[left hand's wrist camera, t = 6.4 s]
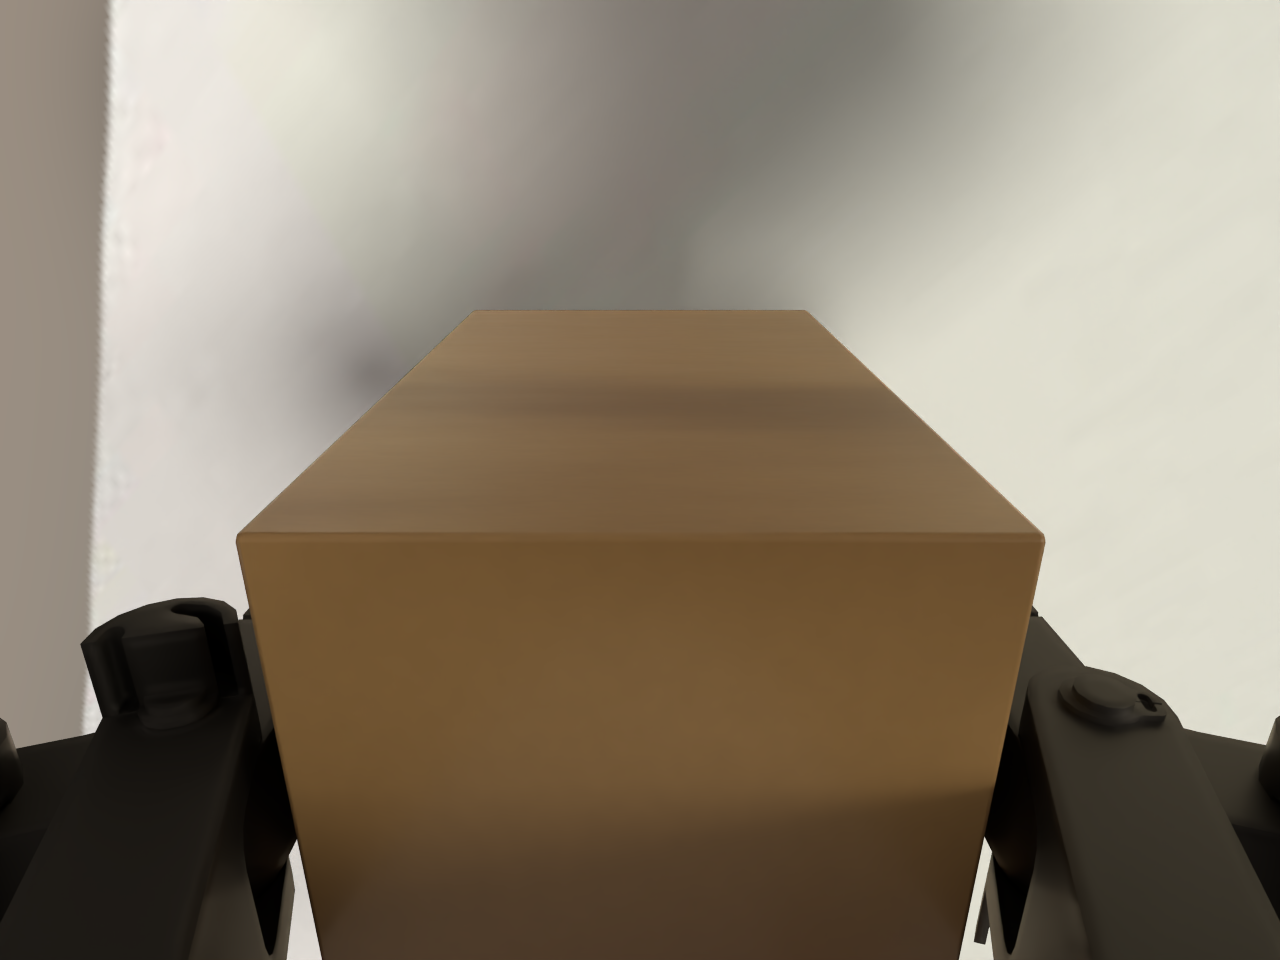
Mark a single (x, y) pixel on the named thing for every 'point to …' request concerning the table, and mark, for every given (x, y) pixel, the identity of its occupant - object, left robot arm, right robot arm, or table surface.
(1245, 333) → the table surface
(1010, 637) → the bar
